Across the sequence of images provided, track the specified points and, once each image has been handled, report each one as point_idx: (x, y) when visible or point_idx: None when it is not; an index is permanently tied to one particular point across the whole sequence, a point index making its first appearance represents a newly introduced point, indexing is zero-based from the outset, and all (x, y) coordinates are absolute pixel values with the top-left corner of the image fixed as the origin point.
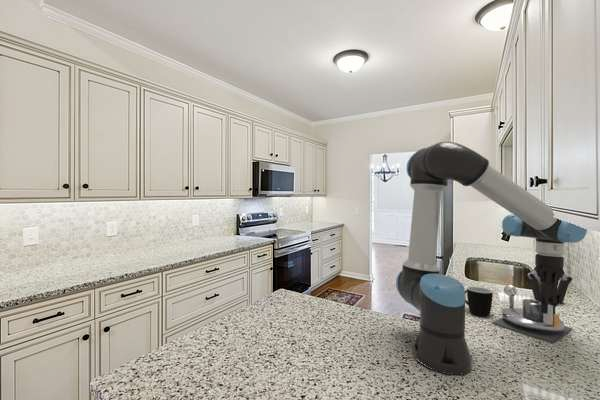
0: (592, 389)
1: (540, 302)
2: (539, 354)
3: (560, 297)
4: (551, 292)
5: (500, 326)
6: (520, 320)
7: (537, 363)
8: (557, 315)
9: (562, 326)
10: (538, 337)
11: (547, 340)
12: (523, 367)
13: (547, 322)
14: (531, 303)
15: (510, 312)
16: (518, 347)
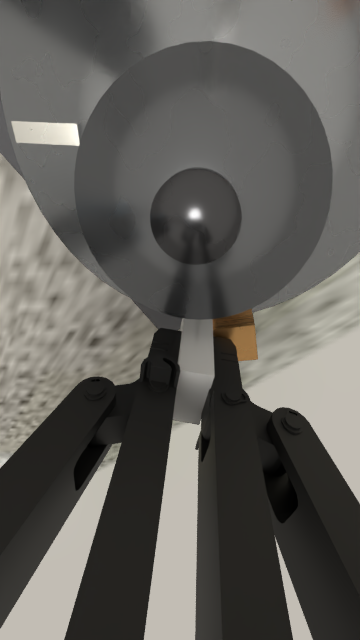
0: (99, 468)
1: (269, 220)
2: (71, 383)
3: (273, 519)
4: (202, 552)
5: (11, 159)
6: (78, 228)
7: (43, 412)
8: (242, 359)
9: (284, 299)
10: (134, 300)
11: (154, 322)
12: (5, 421)
13: (181, 323)
14: (125, 262)
15: (76, 15)
16: (27, 351)
